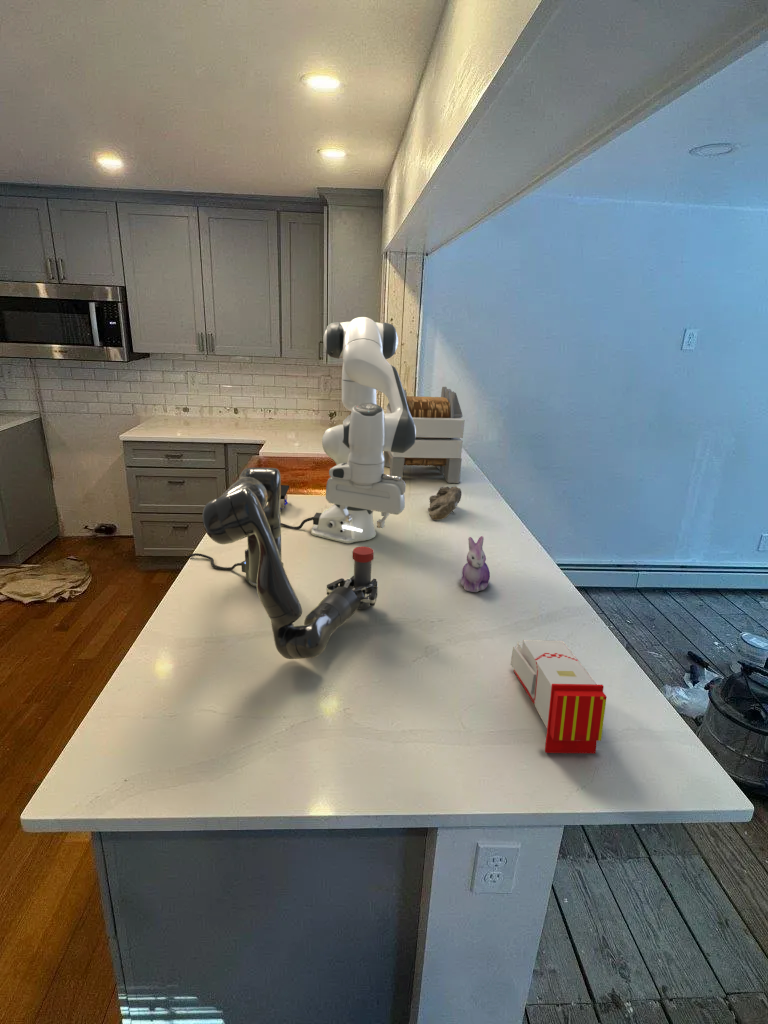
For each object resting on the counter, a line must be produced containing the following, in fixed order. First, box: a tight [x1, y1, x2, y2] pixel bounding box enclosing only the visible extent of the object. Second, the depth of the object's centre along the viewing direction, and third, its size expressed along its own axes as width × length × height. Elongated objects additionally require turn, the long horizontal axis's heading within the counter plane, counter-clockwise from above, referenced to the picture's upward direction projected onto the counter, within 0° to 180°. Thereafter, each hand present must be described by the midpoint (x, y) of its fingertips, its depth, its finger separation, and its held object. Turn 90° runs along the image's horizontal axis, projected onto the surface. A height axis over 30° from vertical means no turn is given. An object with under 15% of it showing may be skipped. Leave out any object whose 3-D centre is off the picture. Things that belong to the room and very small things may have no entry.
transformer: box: [383, 386, 465, 484], centre depth 268 cm, size 34×33×41 cm
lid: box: [352, 546, 375, 563], centre depth 146 cm, size 5×5×2 cm
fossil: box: [427, 486, 462, 521], centre depth 221 cm, size 22×10×15 cm
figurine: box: [460, 535, 491, 593], centre depth 162 cm, size 9×10×15 cm
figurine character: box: [267, 484, 290, 513], centre depth 219 cm, size 7×8×15 cm
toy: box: [510, 639, 607, 754], centre depth 114 cm, size 12×13×30 cm
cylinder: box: [353, 559, 373, 610], centre depth 148 cm, size 4×4×16 cm
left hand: (366, 579), depth 151 cm, fingers closed on cylinder, 4 cm apart
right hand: (364, 524), depth 143 cm, fingers open, 8 cm apart
